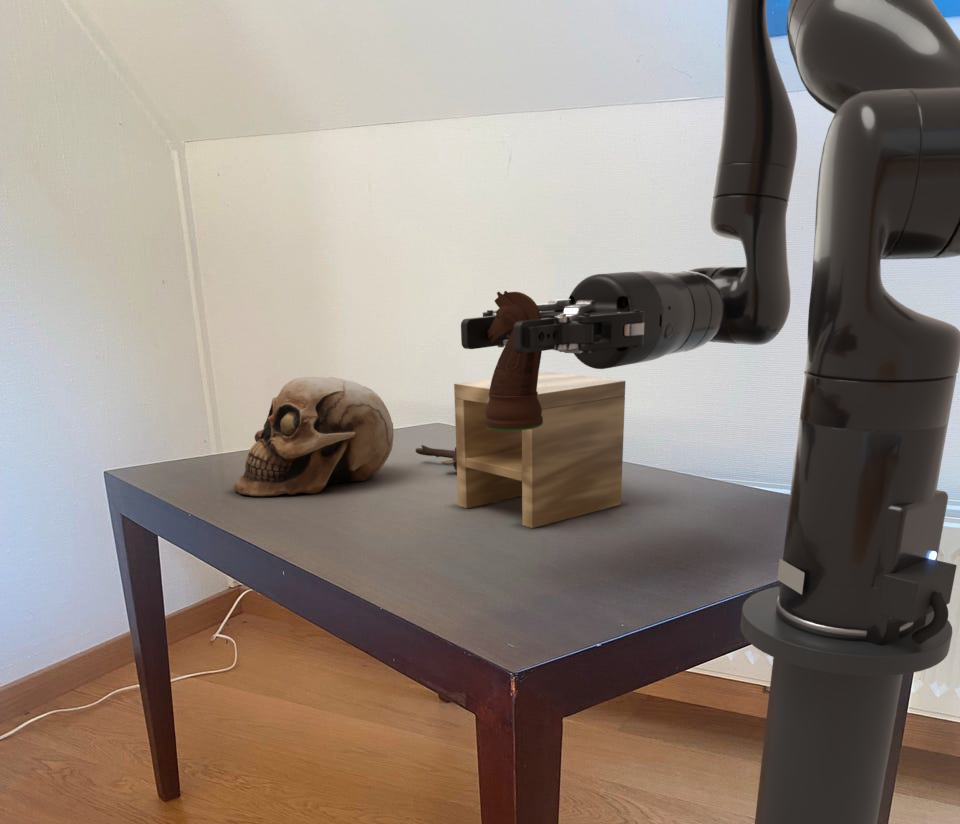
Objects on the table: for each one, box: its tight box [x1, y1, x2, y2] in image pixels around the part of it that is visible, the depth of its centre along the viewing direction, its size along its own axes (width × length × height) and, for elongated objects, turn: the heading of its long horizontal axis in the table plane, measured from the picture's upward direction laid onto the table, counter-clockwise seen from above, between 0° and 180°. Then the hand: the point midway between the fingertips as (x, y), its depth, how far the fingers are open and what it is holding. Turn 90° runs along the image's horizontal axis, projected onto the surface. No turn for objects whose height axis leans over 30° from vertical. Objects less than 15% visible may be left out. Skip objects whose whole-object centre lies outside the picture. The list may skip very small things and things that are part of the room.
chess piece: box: [485, 290, 543, 431], centre depth 70 cm, size 5×5×10 cm
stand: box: [453, 371, 626, 529], centre depth 97 cm, size 12×13×13 cm
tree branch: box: [415, 444, 457, 472], centre depth 118 cm, size 18×4×14 cm
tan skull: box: [233, 376, 394, 497], centre depth 110 cm, size 16×17×13 cm
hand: (491, 336), depth 68 cm, fingers closed on chess piece, 5 cm apart
